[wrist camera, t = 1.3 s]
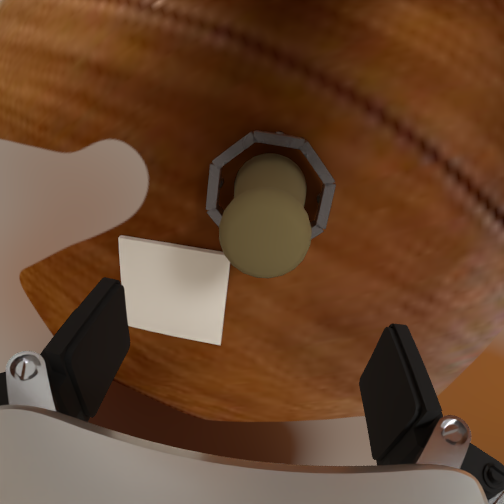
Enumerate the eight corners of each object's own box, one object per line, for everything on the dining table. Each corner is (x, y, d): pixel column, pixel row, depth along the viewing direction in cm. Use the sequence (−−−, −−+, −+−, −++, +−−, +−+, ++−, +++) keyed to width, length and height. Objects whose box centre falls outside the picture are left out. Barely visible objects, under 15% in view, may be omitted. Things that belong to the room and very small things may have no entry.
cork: (239, 225, 28) (216, 298, 18) (229, 157, 26) (195, 196, 16) (309, 219, 27) (323, 291, 18) (303, 149, 25) (319, 184, 15)
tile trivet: (120, 234, 30) (118, 237, 29) (231, 253, 30) (230, 256, 29) (127, 322, 35) (126, 325, 34) (221, 341, 35) (220, 345, 34)
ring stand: (218, 122, 24) (213, 124, 22) (340, 142, 24) (345, 146, 22) (207, 233, 29) (201, 243, 27) (315, 250, 29) (318, 262, 27)
